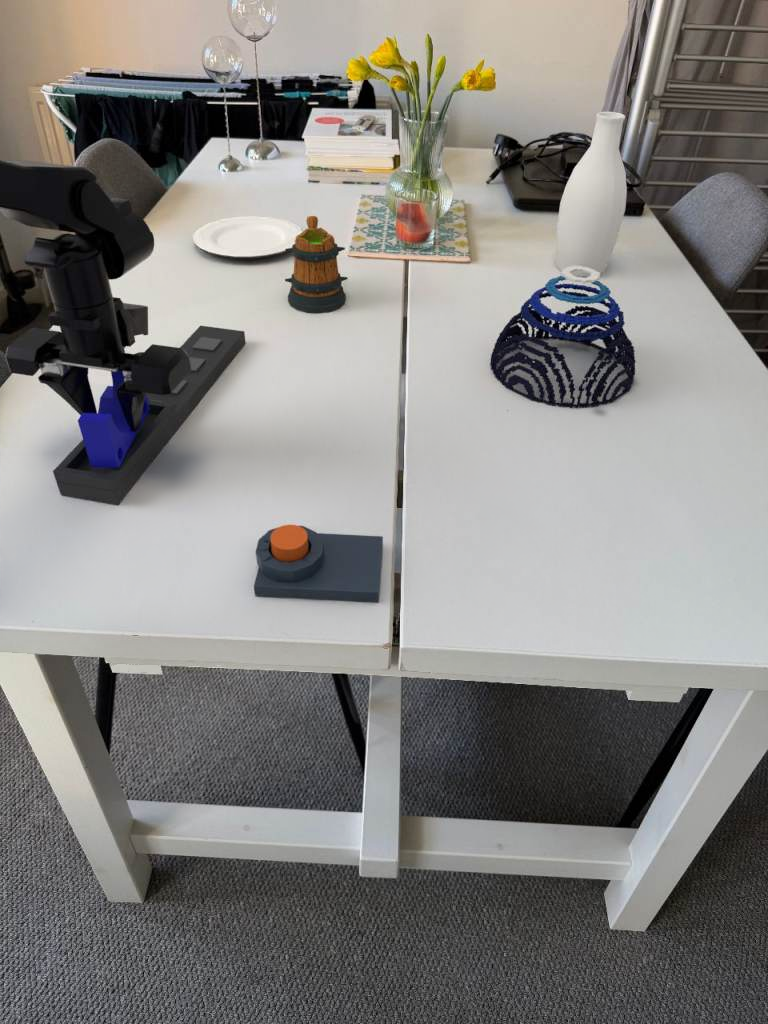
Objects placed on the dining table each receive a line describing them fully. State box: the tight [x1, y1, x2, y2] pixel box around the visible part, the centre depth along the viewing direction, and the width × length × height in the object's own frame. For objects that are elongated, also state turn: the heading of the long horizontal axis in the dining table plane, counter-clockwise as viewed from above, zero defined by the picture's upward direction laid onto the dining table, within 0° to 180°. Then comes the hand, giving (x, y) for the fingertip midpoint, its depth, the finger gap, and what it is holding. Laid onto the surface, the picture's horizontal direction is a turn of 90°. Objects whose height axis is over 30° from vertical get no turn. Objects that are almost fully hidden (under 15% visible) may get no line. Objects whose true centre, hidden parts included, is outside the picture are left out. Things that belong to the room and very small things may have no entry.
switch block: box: [253, 525, 384, 603], centre depth 73 cm, size 12×8×3 cm, turn 87°
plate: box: [192, 215, 304, 260], centre depth 139 cm, size 21×21×2 cm
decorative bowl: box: [489, 265, 637, 409], centre depth 101 cm, size 20×20×14 cm
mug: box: [284, 215, 348, 314], centre depth 119 cm, size 13×10×12 cm
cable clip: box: [77, 371, 150, 468], centre depth 82 cm, size 12×4×6 cm, turn 178°
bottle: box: [554, 111, 628, 277], centre depth 126 cm, size 11×11×25 cm
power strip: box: [52, 325, 246, 506], centre depth 94 cm, size 39×7×3 cm, turn 167°
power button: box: [270, 524, 308, 562], centre depth 71 cm, size 4×4×2 cm
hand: (115, 426), depth 84 cm, fingers closed on cable clip, 5 cm apart
